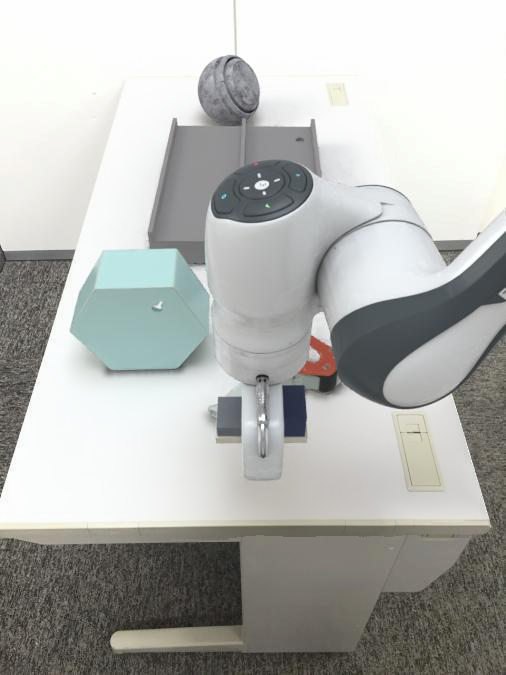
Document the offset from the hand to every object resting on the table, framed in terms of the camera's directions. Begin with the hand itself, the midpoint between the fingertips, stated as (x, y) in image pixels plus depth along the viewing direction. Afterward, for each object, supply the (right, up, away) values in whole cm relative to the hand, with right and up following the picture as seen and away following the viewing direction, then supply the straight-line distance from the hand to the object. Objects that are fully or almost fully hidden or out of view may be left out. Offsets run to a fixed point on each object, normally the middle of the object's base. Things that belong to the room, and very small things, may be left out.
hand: (261, 417), depth 59 cm
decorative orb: (-7, +62, +72) cm, 95 cm away
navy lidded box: (0, -1, +1) cm, 2 cm away
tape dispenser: (+3, +3, +22) cm, 22 cm away
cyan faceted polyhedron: (-17, +7, +25) cm, 31 cm away
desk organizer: (-3, +37, +52) cm, 64 cm away
